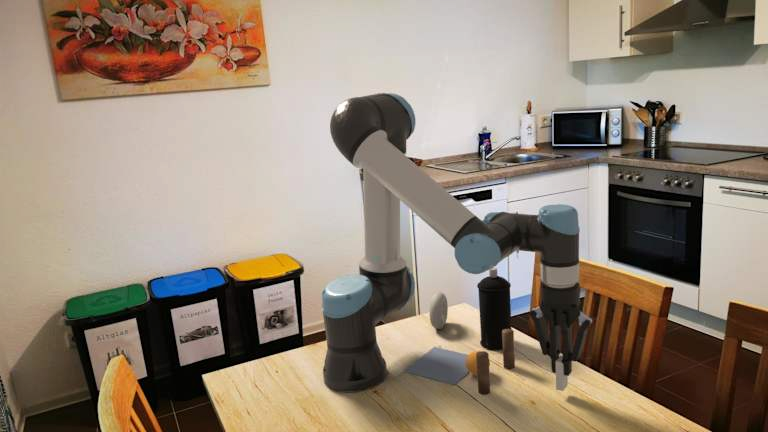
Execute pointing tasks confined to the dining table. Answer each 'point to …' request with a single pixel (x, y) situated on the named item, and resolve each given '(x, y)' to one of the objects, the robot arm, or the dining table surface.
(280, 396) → the dining table surface
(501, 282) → the aerosol can
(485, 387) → the post
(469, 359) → the ball
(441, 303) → the donut
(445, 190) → the robot arm
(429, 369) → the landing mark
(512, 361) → the post
